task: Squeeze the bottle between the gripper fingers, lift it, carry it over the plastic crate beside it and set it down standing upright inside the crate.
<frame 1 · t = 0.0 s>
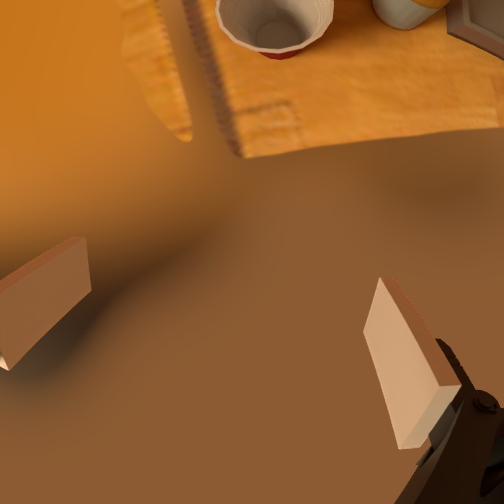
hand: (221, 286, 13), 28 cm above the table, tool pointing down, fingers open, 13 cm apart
bottle: (394, 10, 29), on the table
plastic cup: (277, 39, 33), on the table
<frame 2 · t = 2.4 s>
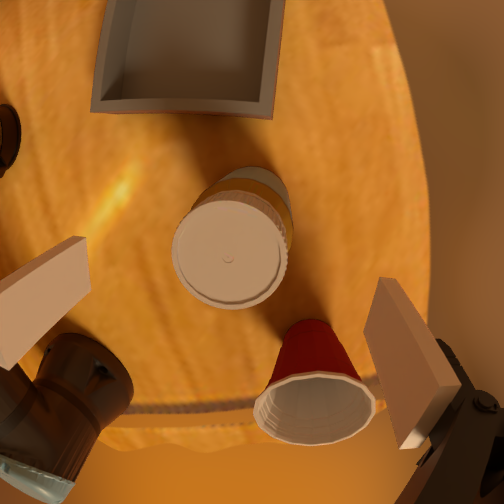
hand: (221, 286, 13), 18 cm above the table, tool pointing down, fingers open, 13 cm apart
bottle: (252, 201, 31), on the table
french press: (3, 140, 30), on the table
crate: (202, 4, 24), on the table
plastic cup: (307, 339, 36), on the table
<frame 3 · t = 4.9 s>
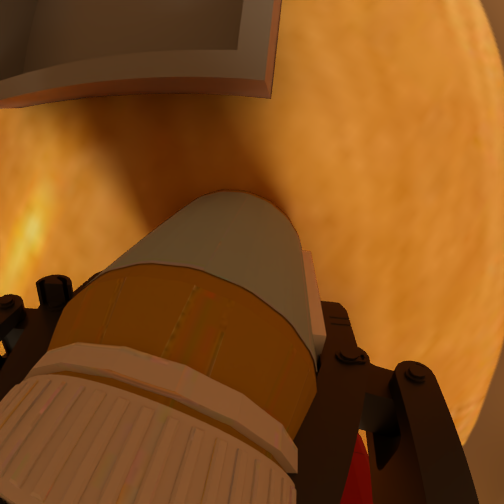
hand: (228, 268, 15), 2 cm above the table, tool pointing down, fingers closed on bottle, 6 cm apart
bottle: (234, 252, 17), on the table, touching gripper
plastic cup: (320, 439, 22), on the table
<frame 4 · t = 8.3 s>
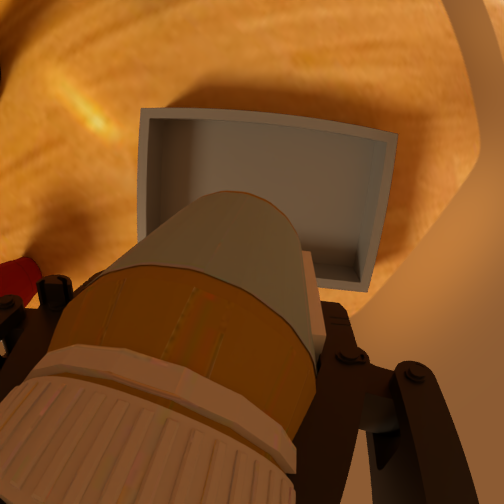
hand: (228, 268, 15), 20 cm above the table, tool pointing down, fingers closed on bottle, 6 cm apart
bottle: (234, 253, 17), point 18 cm above the table, touching gripper
crate: (262, 190, 33), on the table
plastic cup: (30, 272, 41), on the table
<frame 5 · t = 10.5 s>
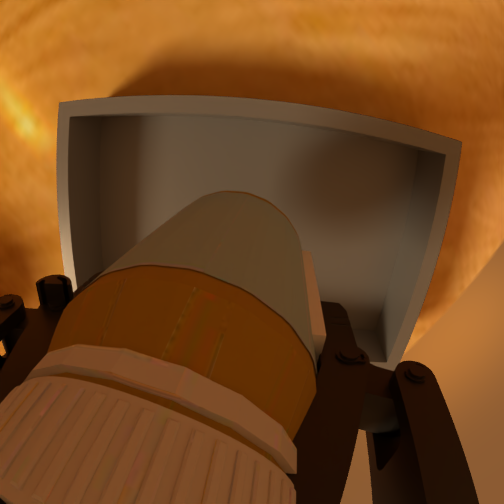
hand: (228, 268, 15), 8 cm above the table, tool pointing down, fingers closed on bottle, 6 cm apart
bottle: (234, 253, 17), point 6 cm above the table, touching gripper
crate: (245, 222, 22), on the table
when the fingers open (4 cm above the table, at t = 12.0 s): bottle drops 1 cm, resting on crate.
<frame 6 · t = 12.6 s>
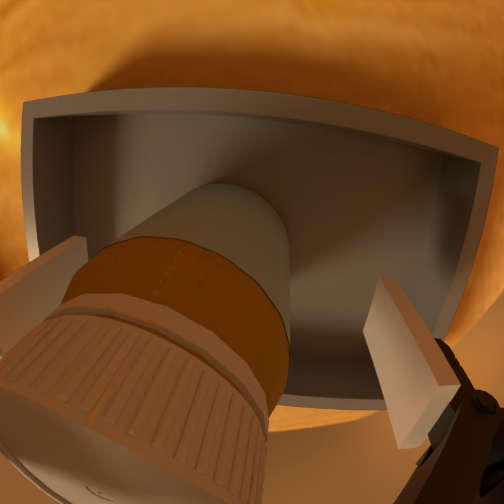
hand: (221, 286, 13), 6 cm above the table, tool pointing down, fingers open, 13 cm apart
bottle: (226, 241, 18), point 1 cm above the table, touching crate
crate: (240, 239, 19), on the table
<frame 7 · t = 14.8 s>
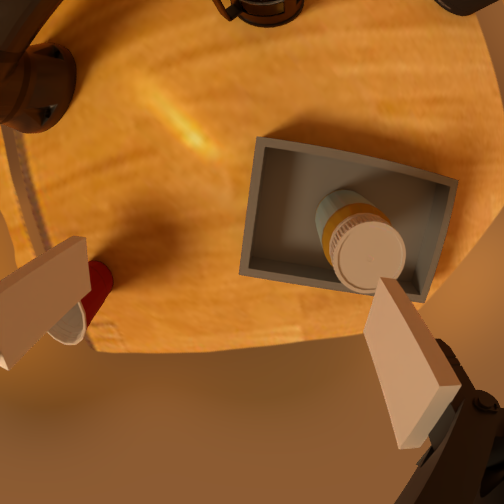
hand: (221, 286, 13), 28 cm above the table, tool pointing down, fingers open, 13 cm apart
bottle: (342, 216, 38), point 1 cm above the table, touching crate
french press: (264, 1, 31), on the table
crate: (346, 216, 39), on the table
plastic cup: (98, 275, 47), on the table
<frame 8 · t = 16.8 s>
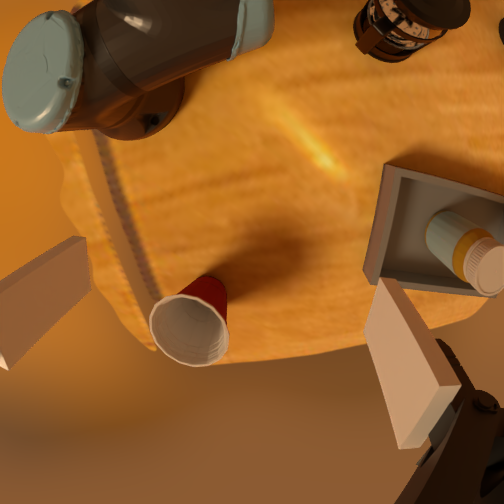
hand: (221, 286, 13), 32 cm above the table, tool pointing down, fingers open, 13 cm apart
bottle: (441, 231, 42), point 1 cm above the table, touching crate
french press: (382, 35, 34), on the table
crate: (442, 231, 42), on the table
plastic cup: (207, 290, 50), on the table
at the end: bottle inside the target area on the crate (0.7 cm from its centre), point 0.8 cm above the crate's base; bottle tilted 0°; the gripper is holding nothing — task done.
